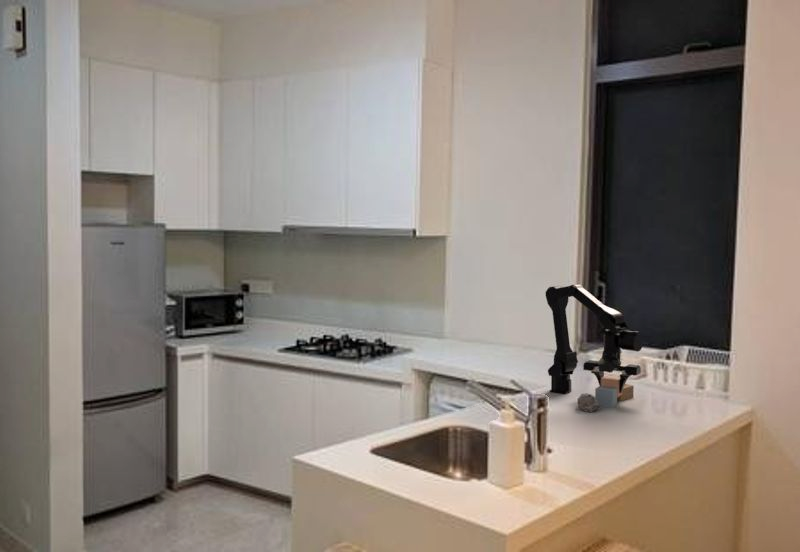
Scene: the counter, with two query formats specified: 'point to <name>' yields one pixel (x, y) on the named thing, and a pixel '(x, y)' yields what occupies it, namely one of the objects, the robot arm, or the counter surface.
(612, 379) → the terracotta clay cube
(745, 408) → the counter surface
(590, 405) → the mineral specimen
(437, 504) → the counter surface
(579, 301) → the robot arm
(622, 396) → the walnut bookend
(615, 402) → the light blue block
